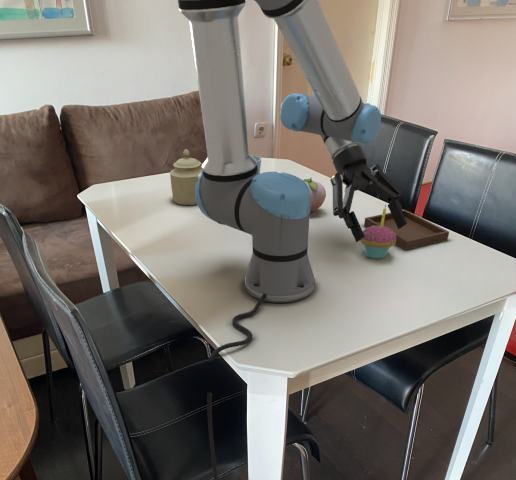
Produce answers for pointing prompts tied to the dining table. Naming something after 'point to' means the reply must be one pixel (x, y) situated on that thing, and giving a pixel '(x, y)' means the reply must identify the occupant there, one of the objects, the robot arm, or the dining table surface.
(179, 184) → the sugar bowl
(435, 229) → the tray
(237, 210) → the robot arm
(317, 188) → the decorative fruit
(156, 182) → the dining table surface
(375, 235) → the cupcake
